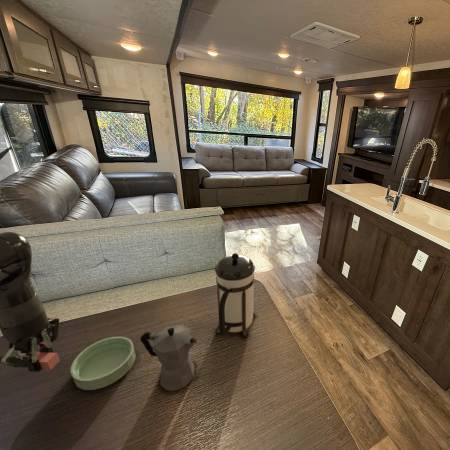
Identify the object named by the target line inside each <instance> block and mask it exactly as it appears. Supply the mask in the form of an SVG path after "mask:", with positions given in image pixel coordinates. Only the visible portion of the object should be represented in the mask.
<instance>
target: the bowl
mask: <svg viewBox="0 0 450 450" xmlns="http://www.w3.org/2000/svg"><path fill="white" fill-rule="evenodd" d="M136 355H137V354H136V350H135V346H134V343H133V341H132V340H131V339H130V338H128V337H125V336H111V337H106V338H103V339H101V340H98V341H96V342H94V343H92V344H90V345H89V346H87V347H86V348H84V349H82V351H81V352H80V353H79V354H78V355H77V356H76V357H75V358H74V359H73V361H72V363H71V365H70V375H71V379H72V380H73V383H74V384H75V386H76V387H77V388H78V389H81V390H83V391H95V390H100V389H103V388H105V387H108V386H110V385H112V384H114V383H116V382H117V381H118V380H120V379H121V378H123V377H124V376H125V375H126V374H127V373H128V372H129V371H130V370H131V368H132V367H133V365H134V363H135V360H136V357H137V356H136Z"/></svg>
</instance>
